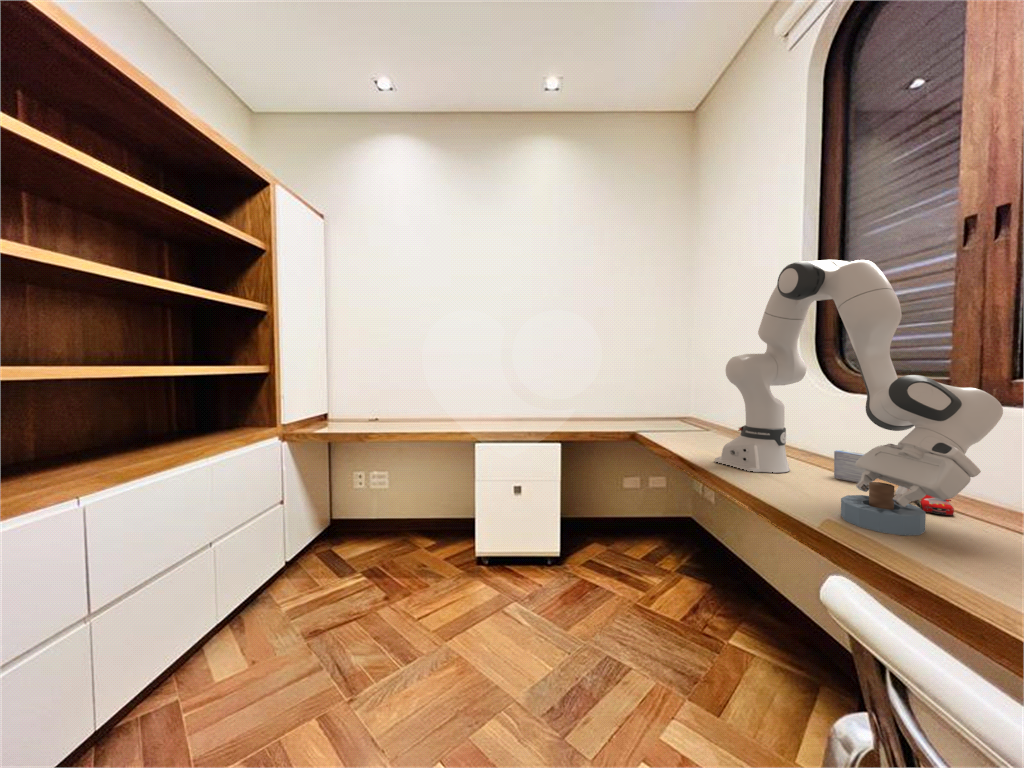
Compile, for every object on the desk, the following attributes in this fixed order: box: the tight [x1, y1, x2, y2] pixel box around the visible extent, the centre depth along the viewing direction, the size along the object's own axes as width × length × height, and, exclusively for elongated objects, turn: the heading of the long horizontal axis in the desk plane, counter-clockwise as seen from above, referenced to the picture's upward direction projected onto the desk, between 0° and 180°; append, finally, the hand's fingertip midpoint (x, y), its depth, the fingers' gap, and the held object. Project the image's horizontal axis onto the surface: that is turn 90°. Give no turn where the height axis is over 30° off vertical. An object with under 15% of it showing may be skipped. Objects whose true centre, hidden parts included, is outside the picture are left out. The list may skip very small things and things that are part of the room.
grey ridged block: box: [833, 448, 874, 484], centre depth 117 cm, size 8×4×9 cm, turn 25°
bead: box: [840, 494, 927, 536], centre depth 86 cm, size 13×13×4 cm
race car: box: [914, 495, 955, 517], centre depth 94 cm, size 13×5×4 cm, turn 141°
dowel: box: [868, 481, 895, 510], centre depth 86 cm, size 4×4×8 cm
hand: (877, 495), depth 86 cm, fingers open, 8 cm apart
